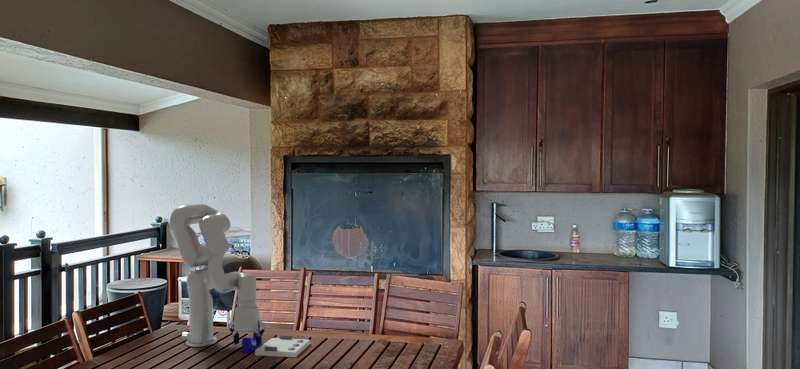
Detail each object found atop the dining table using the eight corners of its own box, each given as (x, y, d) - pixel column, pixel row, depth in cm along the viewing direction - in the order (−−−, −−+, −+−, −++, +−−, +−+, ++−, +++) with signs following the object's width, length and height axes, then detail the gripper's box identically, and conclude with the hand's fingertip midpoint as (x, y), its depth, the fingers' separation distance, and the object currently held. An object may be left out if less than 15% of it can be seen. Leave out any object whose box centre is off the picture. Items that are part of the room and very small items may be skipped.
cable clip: (251, 344, 231) (251, 330, 231) (261, 344, 231) (261, 330, 231) (238, 353, 220) (238, 338, 220) (249, 353, 219) (248, 339, 219)
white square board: (255, 355, 216) (255, 346, 216) (271, 342, 233) (271, 334, 233) (295, 357, 213) (295, 348, 213) (309, 344, 230) (309, 336, 230)
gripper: (223, 305, 223) (223, 346, 223) (263, 306, 220) (263, 348, 220) (232, 300, 230) (232, 340, 230) (270, 302, 227) (270, 342, 227)
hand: (247, 344), depth 225 cm, fingers open, 9 cm apart
